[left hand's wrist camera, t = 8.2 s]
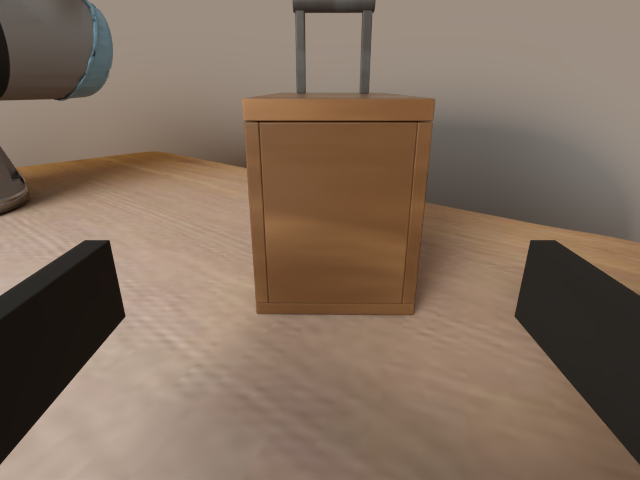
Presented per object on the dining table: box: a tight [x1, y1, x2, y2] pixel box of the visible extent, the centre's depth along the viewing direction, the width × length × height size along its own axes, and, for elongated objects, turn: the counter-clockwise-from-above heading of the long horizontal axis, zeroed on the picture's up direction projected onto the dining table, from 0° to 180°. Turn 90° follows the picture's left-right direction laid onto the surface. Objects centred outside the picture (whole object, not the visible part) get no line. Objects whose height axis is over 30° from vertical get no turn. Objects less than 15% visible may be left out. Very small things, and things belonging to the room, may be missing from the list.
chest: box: [244, 121, 433, 315], centre depth 28 cm, size 17×9×10 cm, turn 179°
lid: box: [242, 0, 435, 121], centre depth 25 cm, size 18×9×8 cm, turn 179°
